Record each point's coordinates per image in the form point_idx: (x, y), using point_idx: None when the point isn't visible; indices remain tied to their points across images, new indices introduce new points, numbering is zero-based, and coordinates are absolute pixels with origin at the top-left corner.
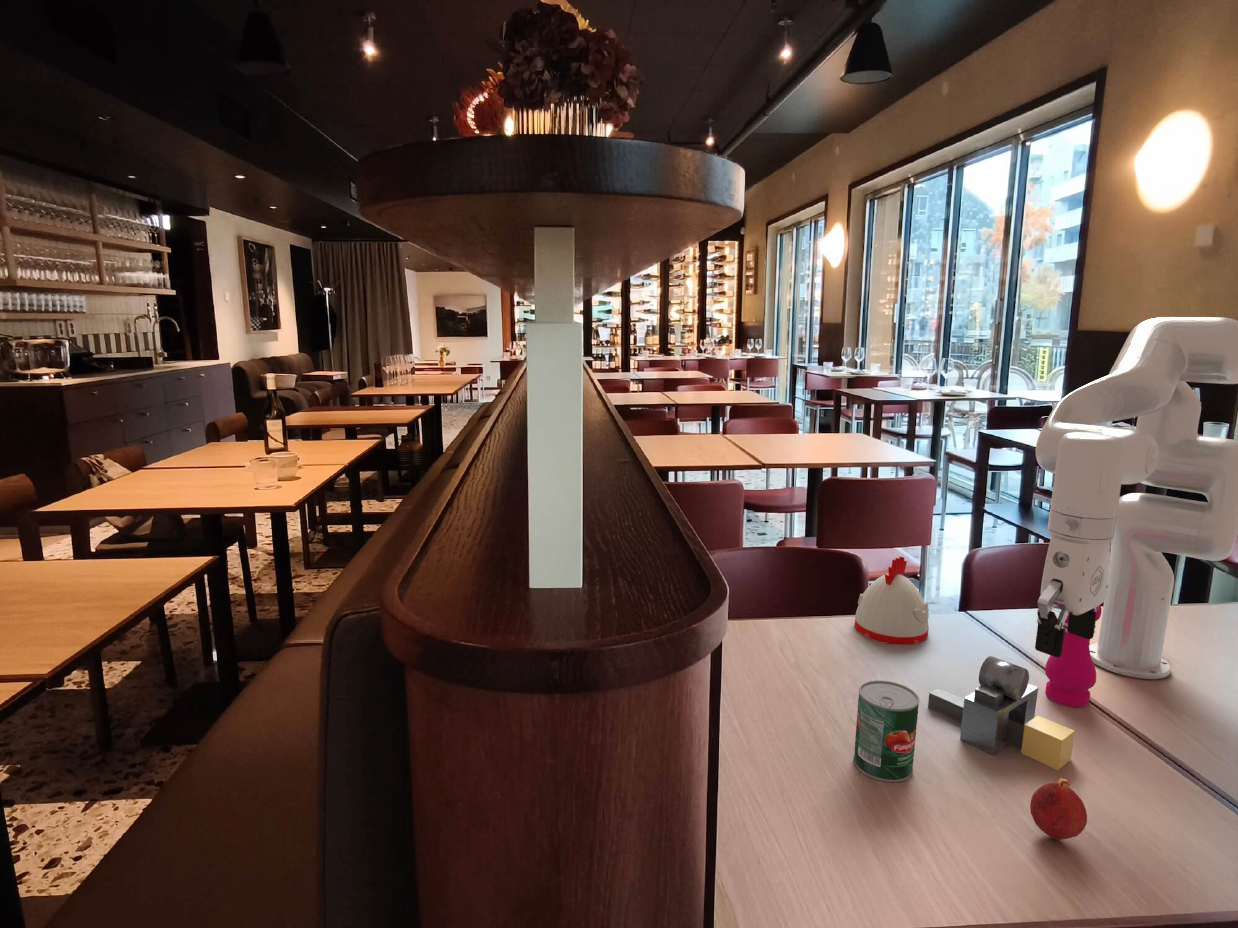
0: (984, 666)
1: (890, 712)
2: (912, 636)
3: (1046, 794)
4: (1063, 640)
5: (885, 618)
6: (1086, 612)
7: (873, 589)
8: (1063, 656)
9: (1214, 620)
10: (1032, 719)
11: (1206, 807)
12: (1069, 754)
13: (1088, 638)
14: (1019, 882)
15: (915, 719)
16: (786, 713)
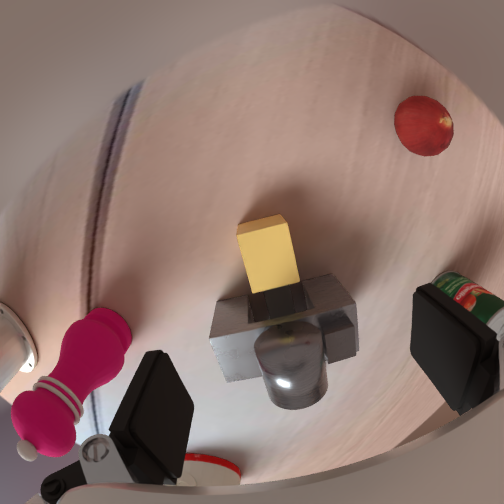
0: (324, 390)
1: None
2: (203, 461)
3: (453, 132)
4: (458, 312)
5: (228, 485)
6: (151, 448)
7: None
8: (99, 372)
9: None
10: (272, 287)
11: (168, 85)
12: (245, 224)
13: (167, 354)
14: (465, 119)
15: (485, 303)
16: (431, 387)
